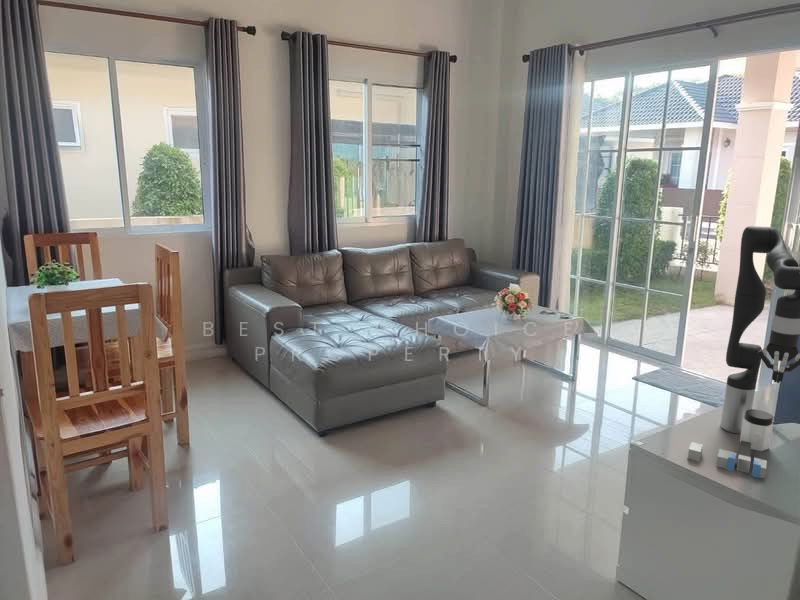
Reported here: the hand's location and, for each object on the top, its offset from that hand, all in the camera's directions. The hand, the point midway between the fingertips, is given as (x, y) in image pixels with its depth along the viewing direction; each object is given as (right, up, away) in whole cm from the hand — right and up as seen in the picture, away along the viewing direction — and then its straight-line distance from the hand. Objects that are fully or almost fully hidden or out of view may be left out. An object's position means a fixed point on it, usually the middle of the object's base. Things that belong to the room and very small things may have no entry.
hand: (776, 381), depth 182 cm
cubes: (-13, -28, +6) cm, 32 cm away
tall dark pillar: (-6, -28, +8) cm, 30 cm away
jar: (+5, -25, +19) cm, 32 cm away
